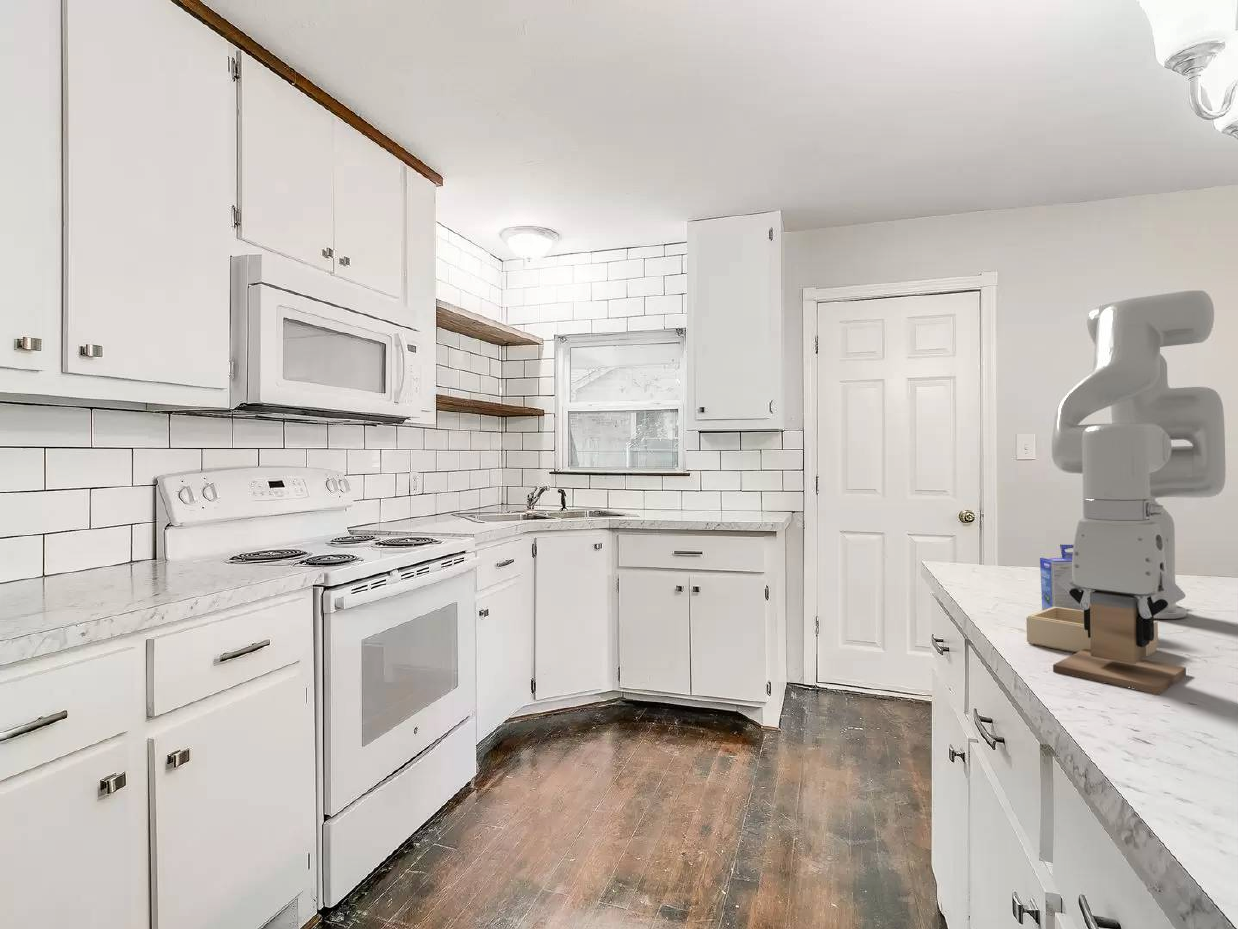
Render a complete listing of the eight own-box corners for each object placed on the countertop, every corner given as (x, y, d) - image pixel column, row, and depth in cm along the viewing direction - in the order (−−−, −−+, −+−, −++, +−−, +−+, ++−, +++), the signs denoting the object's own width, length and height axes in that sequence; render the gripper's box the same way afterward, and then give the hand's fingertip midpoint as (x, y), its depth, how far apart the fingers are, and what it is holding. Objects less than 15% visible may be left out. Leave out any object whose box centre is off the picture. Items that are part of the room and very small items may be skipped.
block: (1103, 649, 96) (1102, 587, 96) (1146, 657, 92) (1145, 593, 92) (1090, 656, 93) (1089, 592, 93) (1134, 664, 89) (1132, 598, 89)
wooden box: (1055, 631, 114) (1054, 606, 114) (1158, 649, 103) (1157, 621, 103) (1026, 644, 107) (1026, 616, 107) (1133, 664, 96) (1132, 634, 96)
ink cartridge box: (1100, 624, 119) (1098, 543, 119) (1116, 632, 113) (1115, 548, 113) (1039, 622, 121) (1038, 543, 121) (1052, 630, 115) (1051, 547, 115)
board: (1085, 655, 101) (1085, 648, 101) (1185, 674, 91) (1185, 667, 91) (1053, 671, 94) (1053, 664, 94) (1158, 694, 84) (1158, 687, 84)
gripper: (1202, 512, 88) (1204, 648, 88) (1058, 507, 101) (1060, 624, 102) (1186, 517, 83) (1188, 660, 84) (1037, 510, 97) (1039, 633, 97)
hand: (1118, 639), depth 93 cm, fingers closed on block, 5 cm apart
